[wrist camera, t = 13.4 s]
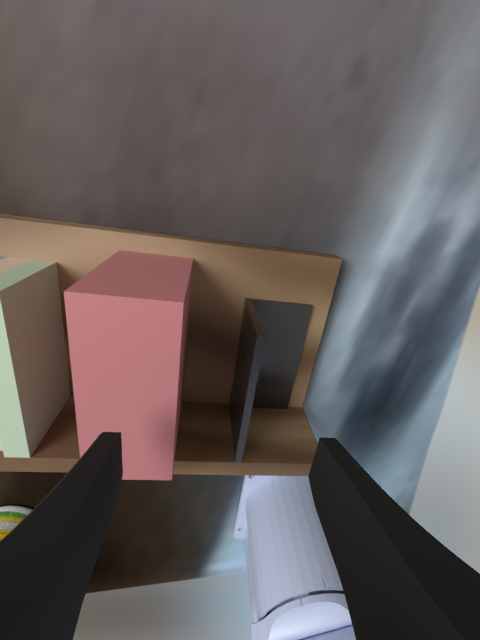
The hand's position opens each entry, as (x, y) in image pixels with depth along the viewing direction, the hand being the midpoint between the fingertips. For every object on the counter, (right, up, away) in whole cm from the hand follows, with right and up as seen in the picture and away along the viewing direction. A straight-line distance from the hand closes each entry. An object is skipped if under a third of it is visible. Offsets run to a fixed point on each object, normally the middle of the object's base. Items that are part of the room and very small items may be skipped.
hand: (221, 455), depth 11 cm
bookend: (+3, +2, +9) cm, 10 cm away
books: (-12, +4, +7) cm, 14 cm away
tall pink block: (-5, +5, +8) cm, 10 cm away
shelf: (-4, +4, +9) cm, 11 cm away
